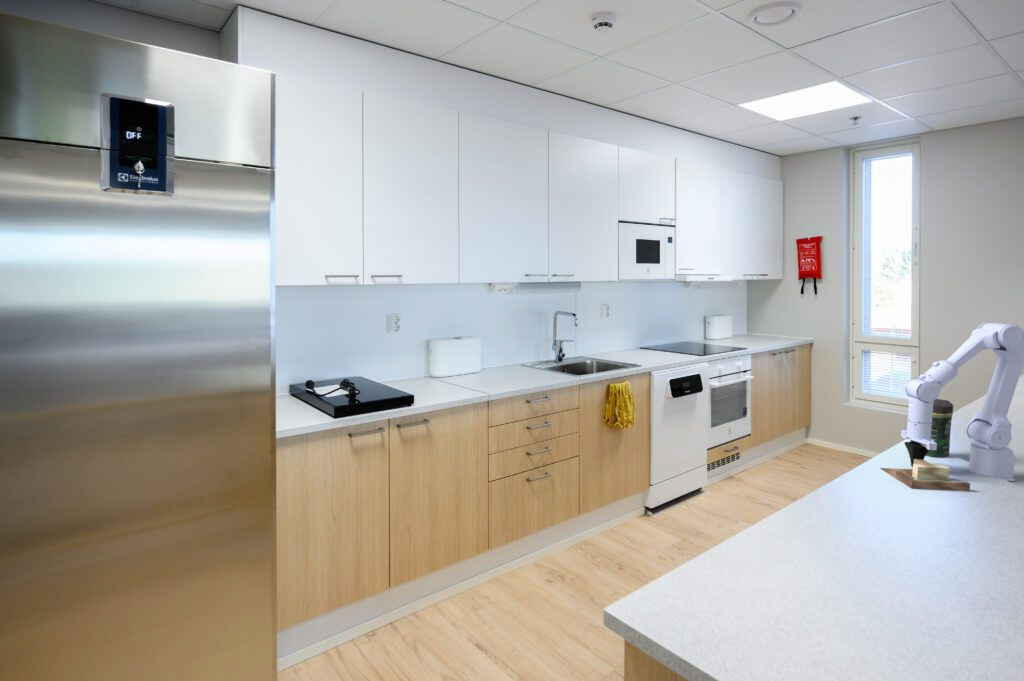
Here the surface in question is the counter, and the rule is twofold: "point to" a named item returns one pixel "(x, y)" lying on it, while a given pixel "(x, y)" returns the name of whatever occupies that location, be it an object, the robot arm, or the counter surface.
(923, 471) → the t block
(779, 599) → the counter surface
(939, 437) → the coffee jar
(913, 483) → the board
